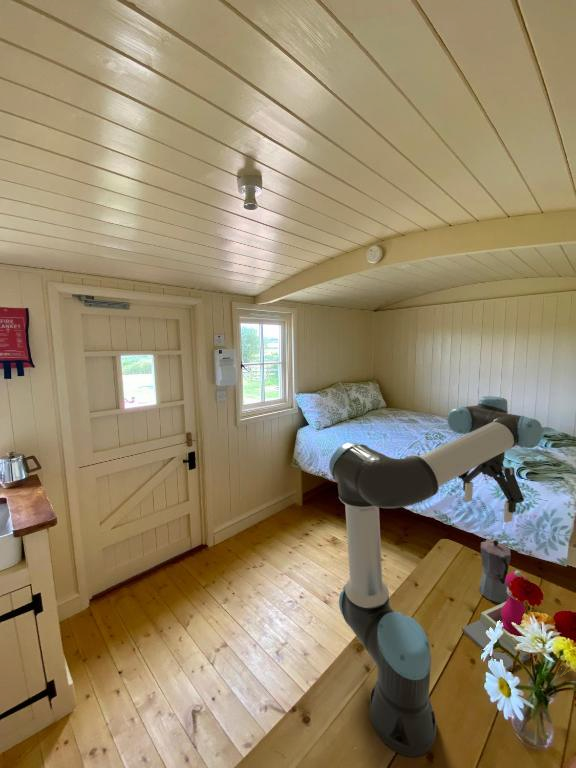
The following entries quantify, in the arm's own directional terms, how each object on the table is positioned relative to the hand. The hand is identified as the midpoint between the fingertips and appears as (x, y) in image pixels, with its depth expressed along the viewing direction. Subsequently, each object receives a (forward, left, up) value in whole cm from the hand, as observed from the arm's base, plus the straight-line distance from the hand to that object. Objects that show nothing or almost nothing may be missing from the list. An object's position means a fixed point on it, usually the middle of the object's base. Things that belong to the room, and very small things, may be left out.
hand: (486, 510), depth 103 cm
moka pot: (+12, +4, -37) cm, 39 cm away
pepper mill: (+3, -9, -36) cm, 37 cm away
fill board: (-1, -9, -37) cm, 38 cm away
